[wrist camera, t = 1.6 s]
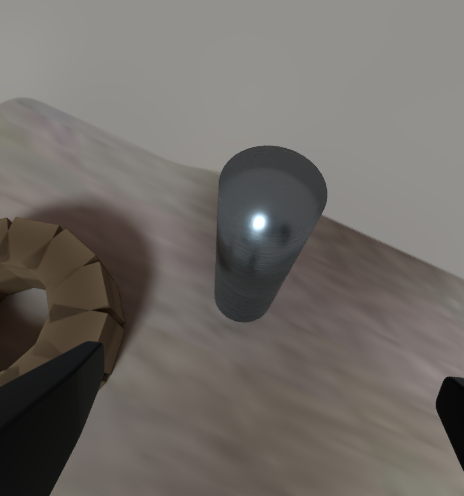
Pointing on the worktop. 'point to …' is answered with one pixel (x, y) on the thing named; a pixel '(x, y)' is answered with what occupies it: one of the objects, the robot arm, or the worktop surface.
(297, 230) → the tall steel post
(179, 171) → the worktop surface
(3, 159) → the worktop surface
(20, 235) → the segmented wooden ring
